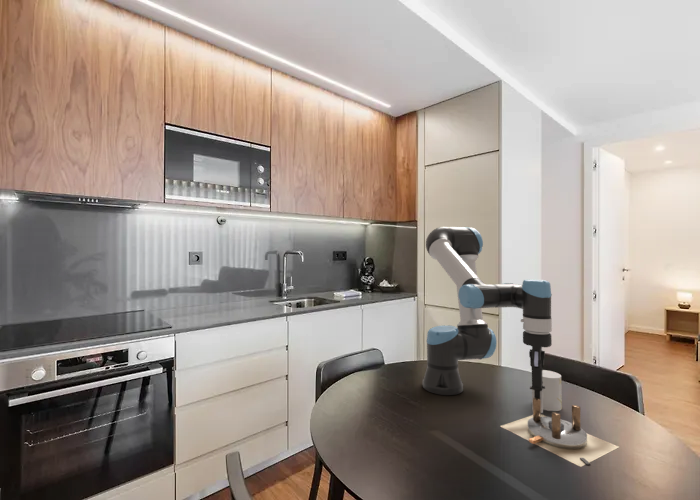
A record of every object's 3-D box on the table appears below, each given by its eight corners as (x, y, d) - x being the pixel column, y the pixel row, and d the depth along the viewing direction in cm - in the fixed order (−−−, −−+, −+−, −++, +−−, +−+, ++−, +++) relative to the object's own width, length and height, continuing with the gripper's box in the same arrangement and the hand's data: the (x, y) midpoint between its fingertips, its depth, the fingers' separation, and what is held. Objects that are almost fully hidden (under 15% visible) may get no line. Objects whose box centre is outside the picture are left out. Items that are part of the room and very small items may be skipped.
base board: (499, 431, 99) (499, 425, 99) (538, 417, 108) (538, 412, 108) (583, 474, 79) (583, 467, 80) (622, 454, 88) (622, 447, 88)
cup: (566, 417, 109) (565, 379, 109) (538, 414, 110) (537, 377, 111) (556, 406, 117) (555, 370, 117) (530, 404, 118) (529, 369, 119)
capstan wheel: (507, 433, 95) (507, 405, 95) (546, 418, 104) (546, 392, 104) (558, 459, 82) (558, 426, 83) (597, 440, 91) (597, 410, 92)
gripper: (524, 326, 110) (525, 400, 109) (520, 334, 99) (521, 416, 98) (551, 329, 106) (552, 406, 105) (551, 337, 95) (551, 423, 94)
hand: (537, 411), depth 102 cm, fingers closed
